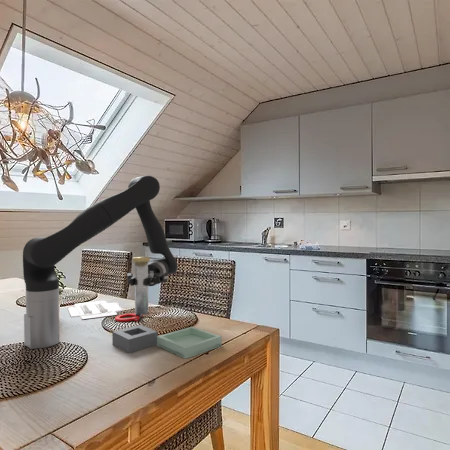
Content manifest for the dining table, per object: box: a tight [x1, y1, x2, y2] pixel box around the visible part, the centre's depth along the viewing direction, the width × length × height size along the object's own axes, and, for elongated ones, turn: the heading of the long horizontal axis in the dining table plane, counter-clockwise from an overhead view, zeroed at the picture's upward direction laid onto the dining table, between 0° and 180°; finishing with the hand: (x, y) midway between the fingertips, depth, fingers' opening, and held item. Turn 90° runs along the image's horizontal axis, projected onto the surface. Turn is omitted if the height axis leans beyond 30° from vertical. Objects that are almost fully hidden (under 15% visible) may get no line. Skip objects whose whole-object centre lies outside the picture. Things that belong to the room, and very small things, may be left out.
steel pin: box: [132, 256, 151, 316], centre depth 111 cm, size 5×5×17 cm
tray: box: [156, 326, 223, 360], centre depth 110 cm, size 14×14×3 cm
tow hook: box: [114, 312, 144, 323], centre depth 140 cm, size 9×14×10 cm
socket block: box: [111, 324, 159, 354], centre depth 112 cm, size 10×10×4 cm
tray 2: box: [67, 299, 124, 320], centre depth 154 cm, size 20×28×4 cm
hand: (139, 282), depth 109 cm, fingers closed on steel pin, 4 cm apart
